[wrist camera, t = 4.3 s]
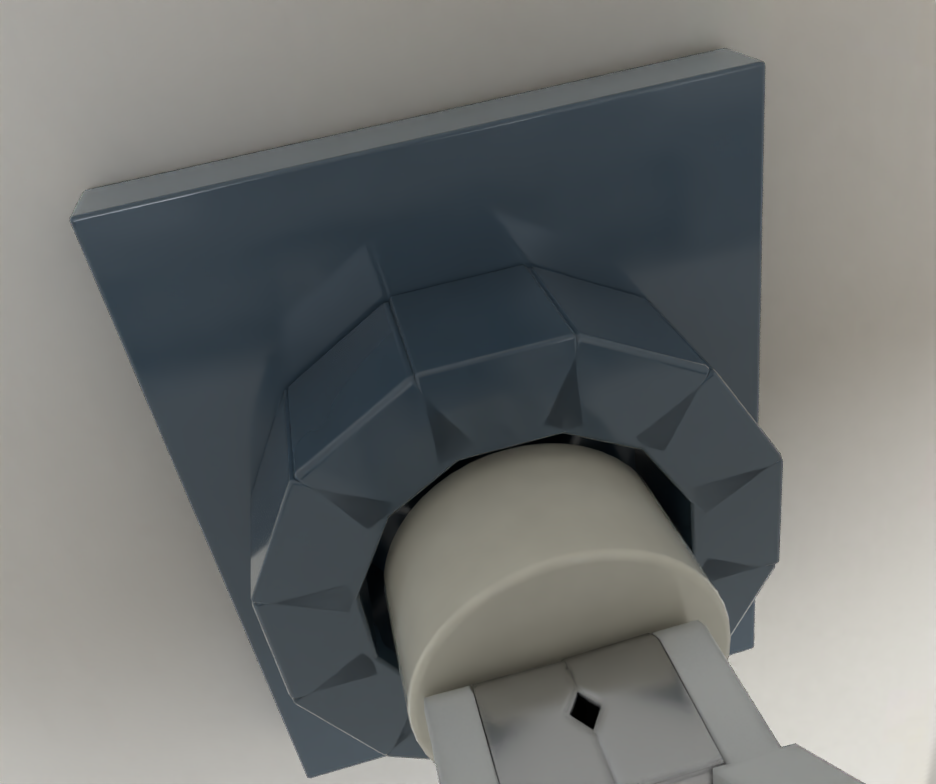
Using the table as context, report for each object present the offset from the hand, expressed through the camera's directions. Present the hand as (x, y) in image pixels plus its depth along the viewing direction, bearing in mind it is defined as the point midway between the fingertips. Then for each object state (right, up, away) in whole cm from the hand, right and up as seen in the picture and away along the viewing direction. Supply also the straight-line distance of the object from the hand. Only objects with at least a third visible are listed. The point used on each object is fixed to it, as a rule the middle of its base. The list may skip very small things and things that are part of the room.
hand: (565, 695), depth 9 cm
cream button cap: (0, +1, +2) cm, 2 cm away
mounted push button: (-1, +2, +4) cm, 5 cm away
